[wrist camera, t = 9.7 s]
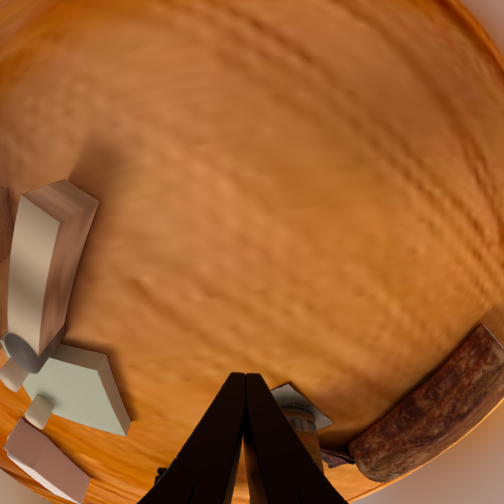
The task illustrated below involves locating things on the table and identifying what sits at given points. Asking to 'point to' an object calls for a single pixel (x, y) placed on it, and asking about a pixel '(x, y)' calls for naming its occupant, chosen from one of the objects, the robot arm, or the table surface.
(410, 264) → the table surface
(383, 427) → the cured meat
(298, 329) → the table surface
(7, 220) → the stop block
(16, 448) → the milk carton
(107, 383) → the stool seat
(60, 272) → the leg
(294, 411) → the condiment
